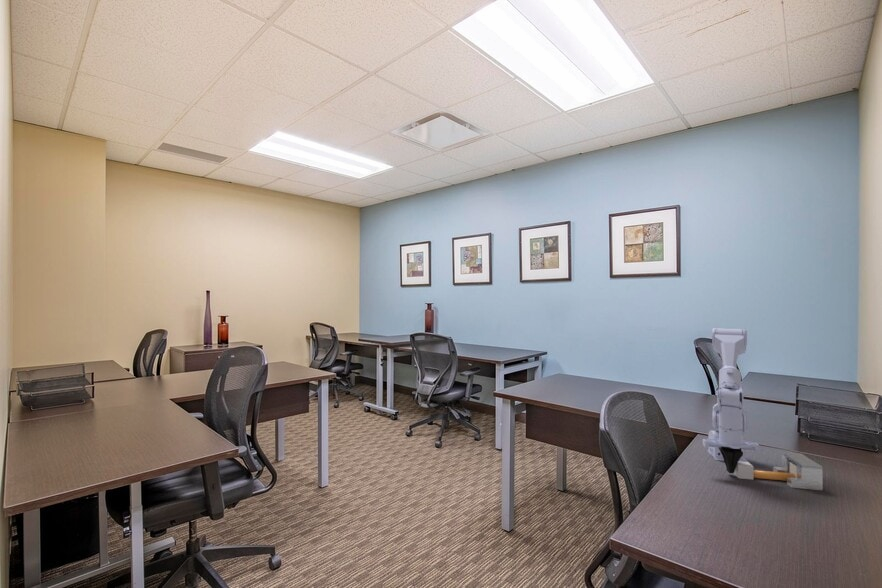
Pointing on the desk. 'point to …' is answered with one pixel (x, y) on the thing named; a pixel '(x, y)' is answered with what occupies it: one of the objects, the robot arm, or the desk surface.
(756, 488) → the desk surface
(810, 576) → the desk surface
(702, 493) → the desk surface
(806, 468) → the housing
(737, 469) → the plug
